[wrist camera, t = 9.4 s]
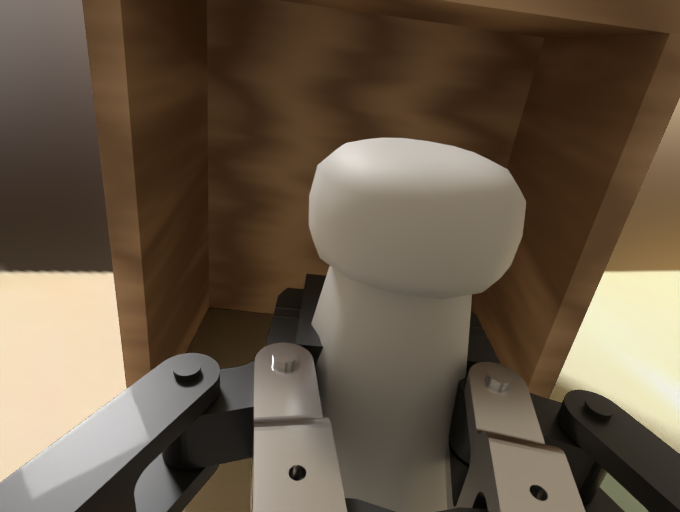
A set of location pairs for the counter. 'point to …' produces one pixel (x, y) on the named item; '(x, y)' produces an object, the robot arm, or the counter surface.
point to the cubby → (359, 124)
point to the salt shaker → (403, 303)
